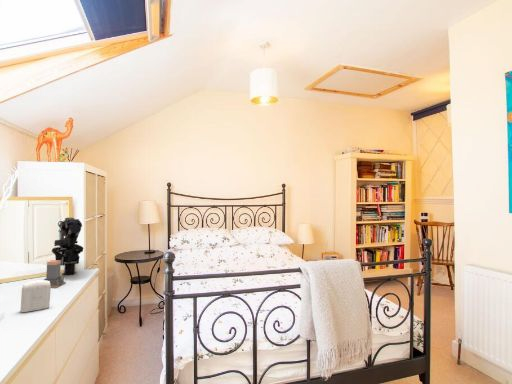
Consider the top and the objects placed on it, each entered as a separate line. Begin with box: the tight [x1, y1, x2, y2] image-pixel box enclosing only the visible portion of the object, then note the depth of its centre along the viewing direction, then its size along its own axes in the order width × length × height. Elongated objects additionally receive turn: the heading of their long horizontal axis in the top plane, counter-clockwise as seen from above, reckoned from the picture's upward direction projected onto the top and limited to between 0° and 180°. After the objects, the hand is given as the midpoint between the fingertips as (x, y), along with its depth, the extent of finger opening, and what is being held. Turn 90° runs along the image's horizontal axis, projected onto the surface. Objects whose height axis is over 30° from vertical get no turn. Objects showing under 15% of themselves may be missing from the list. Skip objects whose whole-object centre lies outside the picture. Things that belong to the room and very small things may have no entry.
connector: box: [45, 259, 62, 280], centre depth 167 cm, size 5×5×13 cm
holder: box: [43, 276, 67, 289], centre depth 167 cm, size 9×9×4 cm
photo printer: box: [19, 279, 52, 313], centre depth 132 cm, size 10×4×12 cm, turn 134°
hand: (62, 263), depth 176 cm, fingers open, 9 cm apart
